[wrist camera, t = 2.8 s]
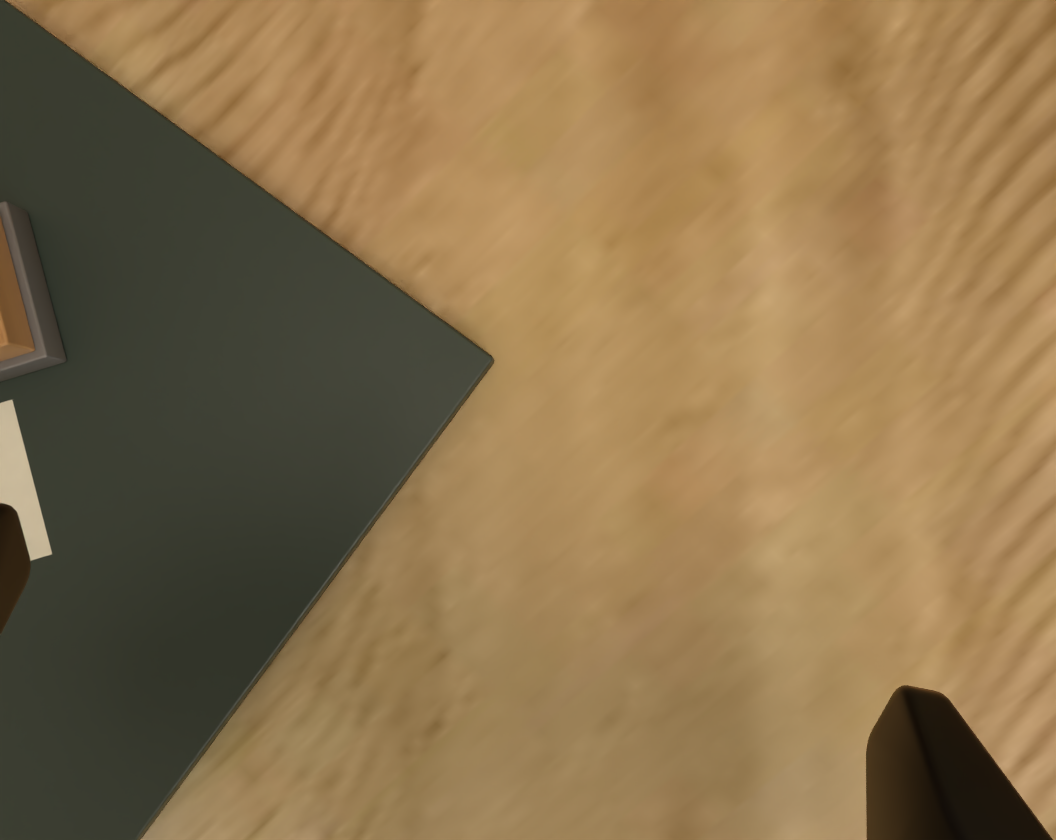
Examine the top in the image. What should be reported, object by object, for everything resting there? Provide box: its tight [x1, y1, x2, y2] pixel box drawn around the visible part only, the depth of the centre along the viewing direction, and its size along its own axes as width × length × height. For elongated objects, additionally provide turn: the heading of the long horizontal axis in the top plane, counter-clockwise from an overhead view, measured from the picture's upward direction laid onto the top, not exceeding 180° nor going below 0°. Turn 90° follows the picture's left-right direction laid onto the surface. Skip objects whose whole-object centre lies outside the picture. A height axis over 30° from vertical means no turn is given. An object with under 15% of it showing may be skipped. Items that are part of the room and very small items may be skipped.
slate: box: [0, 0, 494, 840], centre depth 24 cm, size 20×16×1 cm
